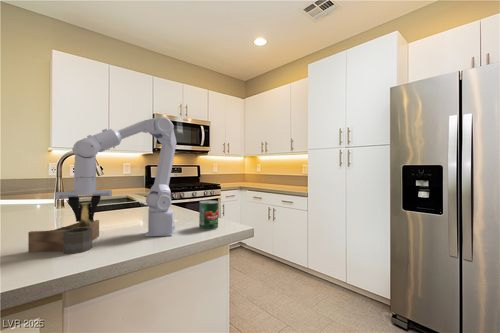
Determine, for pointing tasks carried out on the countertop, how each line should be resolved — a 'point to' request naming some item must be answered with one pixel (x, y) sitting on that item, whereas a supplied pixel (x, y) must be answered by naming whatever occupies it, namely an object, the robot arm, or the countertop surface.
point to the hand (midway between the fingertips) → (84, 220)
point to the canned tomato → (208, 215)
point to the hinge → (64, 239)
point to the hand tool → (70, 226)
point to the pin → (84, 214)
